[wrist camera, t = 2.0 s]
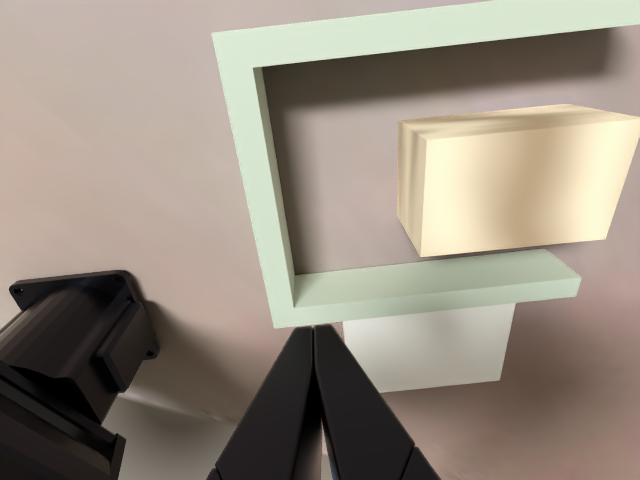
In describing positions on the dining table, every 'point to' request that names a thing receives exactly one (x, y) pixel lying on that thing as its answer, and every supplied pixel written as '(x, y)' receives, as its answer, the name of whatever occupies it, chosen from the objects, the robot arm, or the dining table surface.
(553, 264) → the shelf bay
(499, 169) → the block
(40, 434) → the robot arm
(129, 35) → the dining table surface
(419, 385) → the stand
